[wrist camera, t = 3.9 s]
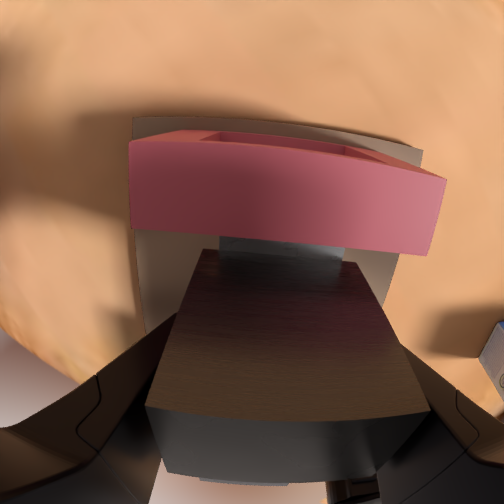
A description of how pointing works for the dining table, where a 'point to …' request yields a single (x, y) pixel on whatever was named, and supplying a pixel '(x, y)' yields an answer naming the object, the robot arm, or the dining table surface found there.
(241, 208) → the pink open tray
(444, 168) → the dining table surface
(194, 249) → the base board
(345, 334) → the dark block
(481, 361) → the medicine box
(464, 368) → the dining table surface
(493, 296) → the dining table surface
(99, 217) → the dining table surface
